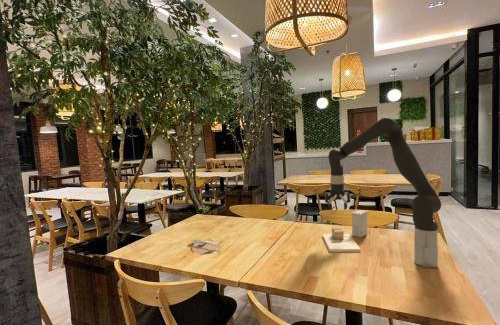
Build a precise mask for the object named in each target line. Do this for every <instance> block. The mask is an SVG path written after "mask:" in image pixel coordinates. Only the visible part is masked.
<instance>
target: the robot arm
mask: <svg viewBox="0 0 500 325" xmlns="http://www.w3.org/2000/svg"><path fill="white" fill-rule="evenodd" d="M383 136H384V137H385V138H386V140H387V142H388V143H389V145H390V148H391V151H392V158H393V161H394V164H395V166H396V167H397V170H398V172H399V174H400V175H401V176H403V178H404V179H406V181H407V182H409V183H410V184H411V185H412V187H413V188H414V189H415V192H416V193H417V196H415V197H414V198H413V199H412V206H411V207H412V209H411V210H412V212H411V214H412V221H413V224H414V237H413V238H414V248H413V249H414V251H413V252H414V257H413V258H414V263H415V264H416V265H417V266H420V267H422V268H438V264H439V261H438V260H439V258H438V257H439V253H438V252H439V247H438V232H439V230H438V227H439V226H438V223H437V222H436V221H434V213H438V212H439V211H440V210H441V209H442V201H441V199H440V197H439V196H438V194H437V192H436V190H435V189H434V188H433V187H432V185H431V184H430V183H429V180H428V179H427V177H426V175H425V173H424V171H423V170H422V168H421V166H420V163H419V162H418V160H417V158H416V156H415V154H414V152H413V151H412V149H411V148H410V146H409V144H408V143H407V141H406V139H405V137H404V135H403V132H402V128H401V127H400V124H399V123H398V121H397V120H395V119H393V118H390V117H387V116H386V117H383V118H380V119H379V120H378V121H376V122H375V123H374V124H372V125H371V126H369V128H367V129H366V130H364V131H363V132H362V133H359V135H357V136H355V137H354V138H352V139H350V140H348V141H346V142H345V143H343V145H342V146H340V147H338V148H333V149H331V150H330V151H329V152H328V164H329V167H330V181H329V182H330V192H327V191H326V192H325V193H324V195H325V196H324V202H325V203H326V204H327V205H328V206H327V207H328V209H329V210H330V211H332V202H334V200H335V201H338V200H339V201H341V200H342V201H343V209H344V210H347V209H348V203H351V194H350V193H351V192H349V191H345V178H344V167H343V165H341V164H342V163H341V161H342V160H344V159H345V158H347V157H350V155H352V154H354V153H356V152H357V151H359V150H361V149H363V148H364V147H365V146H366V145H368V144H369V143H370V142H371V141H372V140H375V139H377V138H379V137H383ZM344 196H346V198H344ZM329 197H330V198H329Z"/></svg>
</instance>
